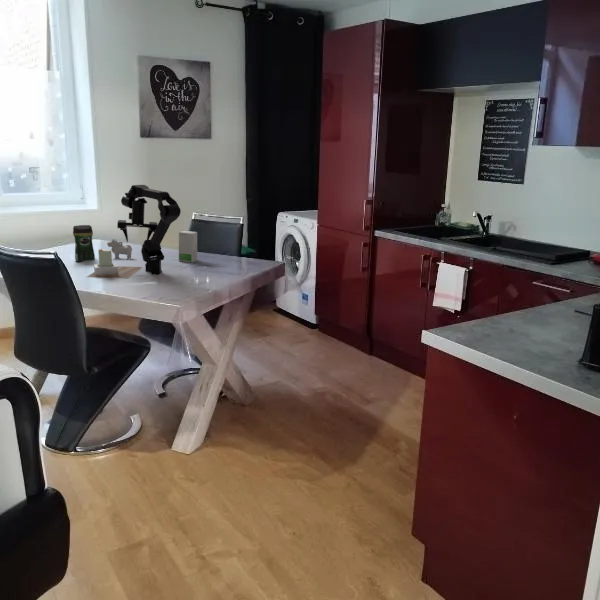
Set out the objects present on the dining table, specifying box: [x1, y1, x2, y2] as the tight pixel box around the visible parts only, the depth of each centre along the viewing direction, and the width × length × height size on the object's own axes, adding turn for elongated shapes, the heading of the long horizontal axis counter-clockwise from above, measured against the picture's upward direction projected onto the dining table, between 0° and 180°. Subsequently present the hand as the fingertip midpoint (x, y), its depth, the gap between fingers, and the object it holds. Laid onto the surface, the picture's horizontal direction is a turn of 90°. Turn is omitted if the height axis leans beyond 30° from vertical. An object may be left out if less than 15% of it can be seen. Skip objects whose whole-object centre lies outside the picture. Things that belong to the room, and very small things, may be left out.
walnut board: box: [86, 265, 144, 279], centre depth 273 cm, size 19×24×1 cm
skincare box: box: [178, 230, 198, 263], centre depth 305 cm, size 8×7×16 cm
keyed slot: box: [93, 262, 118, 276], centre depth 268 cm, size 10×8×4 cm
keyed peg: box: [98, 248, 113, 267], centre depth 267 cm, size 5×3×12 cm, turn 113°
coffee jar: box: [72, 224, 96, 263], centre depth 296 cm, size 10×8×19 cm
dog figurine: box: [106, 238, 133, 261], centre depth 305 cm, size 5×13×11 cm, turn 92°
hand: (137, 242), depth 281 cm, fingers open, 9 cm apart
